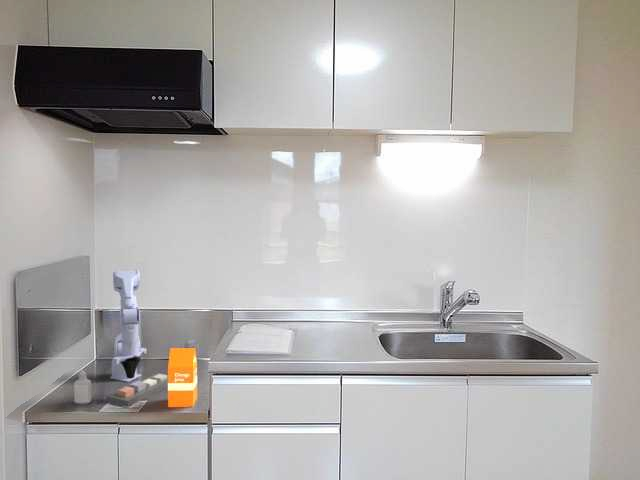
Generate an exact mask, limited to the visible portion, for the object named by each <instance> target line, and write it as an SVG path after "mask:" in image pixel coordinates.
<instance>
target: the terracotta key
mask: <svg viewBox="0 0 640 480" xmlns="http://www.w3.org/2000/svg"><path fill="white" fill-rule="evenodd" d="M116 392H117V396H119V397H123V398H127V397H129V396H131V395H133V394H134V388H131V387H128V386H125V385H124V386H123V387H122V388H119V389H117V391H116Z"/></svg>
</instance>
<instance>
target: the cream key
mask: <svg viewBox="0 0 640 480" xmlns="http://www.w3.org/2000/svg"><path fill="white" fill-rule="evenodd" d="M143 382H145V383H146V386H149V387H150V386H152V385H154V384H156V383H157V380H153V379H147V380H145V381H143Z"/></svg>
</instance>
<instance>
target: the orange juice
mask: <svg viewBox="0 0 640 480" xmlns="http://www.w3.org/2000/svg"><path fill="white" fill-rule="evenodd" d="M169 351H170V352H169V358H168V363H167V364H168V366H167V375H168V387H167V404H168V405H167V407H168V408H187V407H188V408H189V407H190V406H191V407H190V408H192V407H193V408H194V406H195V405H196V404H195V403H196V402H197V399H198V359H197V354H196V353H197V352H196V348H195V347H188V348H187V347H184V348H183V347H180V348H178V347H177V348H176V347H172V348H171V347H170V350H169ZM195 401H196V402H195Z"/></svg>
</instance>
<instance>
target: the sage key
mask: <svg viewBox="0 0 640 480" xmlns="http://www.w3.org/2000/svg"><path fill="white" fill-rule="evenodd" d="M167 378H168V374H164V375H163V373H159V374H158V375H156V376H154V377H153V380H157V381H163V380H165V379H167Z"/></svg>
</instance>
